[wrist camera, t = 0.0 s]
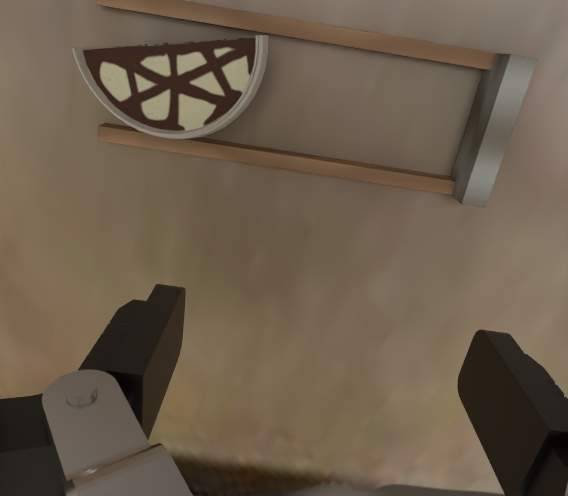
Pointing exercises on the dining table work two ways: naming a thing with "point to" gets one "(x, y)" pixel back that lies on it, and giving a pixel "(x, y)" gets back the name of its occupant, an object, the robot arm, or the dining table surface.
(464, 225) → the dining table surface
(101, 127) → the guide channel
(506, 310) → the dining table surface
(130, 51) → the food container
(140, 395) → the robot arm
